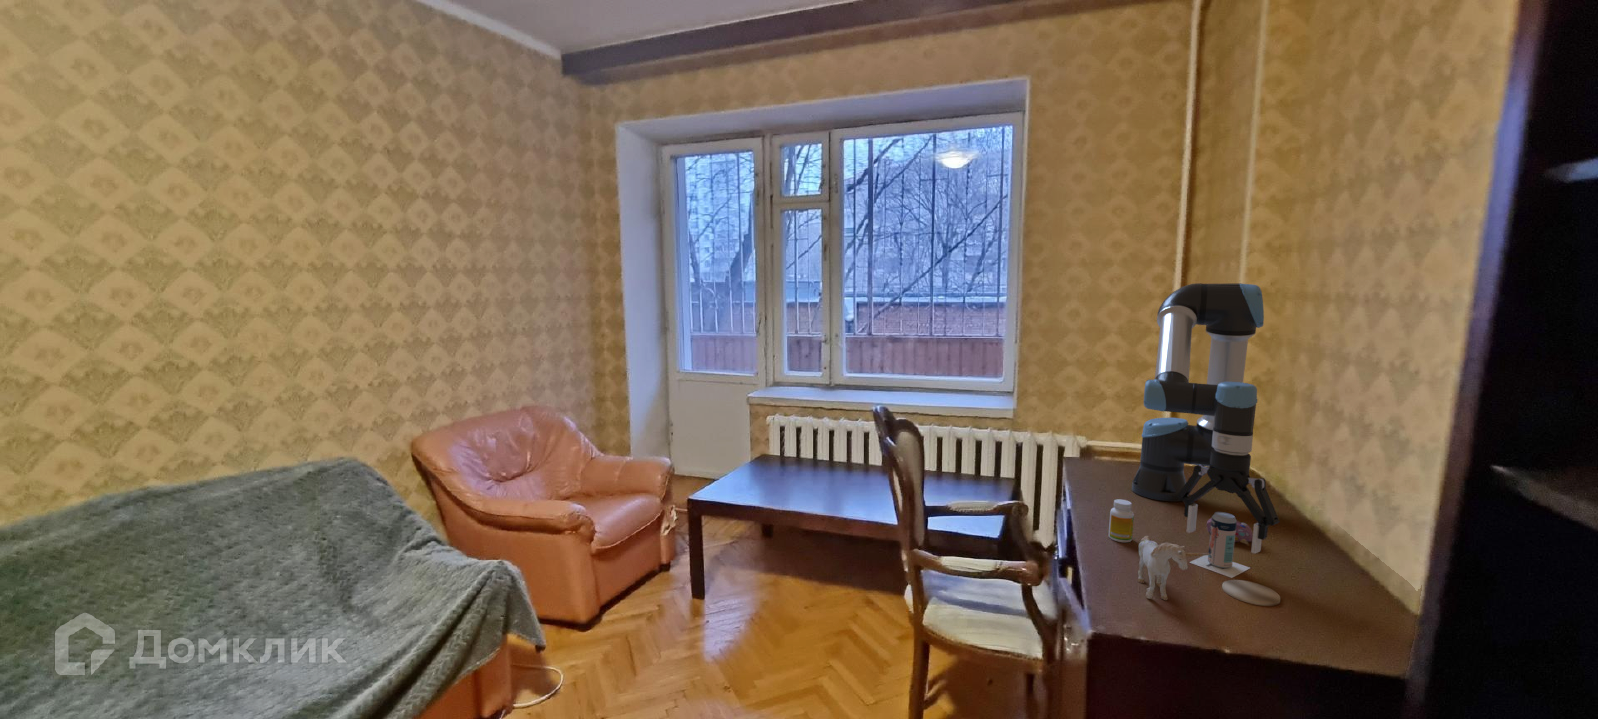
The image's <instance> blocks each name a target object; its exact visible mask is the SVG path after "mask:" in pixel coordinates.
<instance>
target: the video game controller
mask: <svg viewBox="0 0 1598 719" xmlns="http://www.w3.org/2000/svg"><path fill="white" fill-rule="evenodd" d="M1211 520H1212V517H1211V518H1209V519H1208V520H1207V522H1206V530H1207V531H1208V533H1210V531H1211ZM1252 530H1253V529H1251V527H1250V526H1249V525H1248V524H1247V523H1246V522H1240V521H1238V520H1237V524H1236V534H1235V543H1238V542H1241V541H1242V540H1245V541H1246V542H1249V543H1250V542H1251V543H1252V539H1253V531H1252Z"/></svg>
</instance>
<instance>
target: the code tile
mask: <svg viewBox="0 0 1598 719" xmlns="http://www.w3.org/2000/svg"><path fill="white" fill-rule="evenodd" d="M1189 564H1192V565H1194V566H1198V567H1201V568H1203V569H1206V570H1209V571H1212V572H1215V573H1217V574H1218V575H1219V574H1220V575H1223V576H1225V577H1228V578H1230V579H1234V578H1235V577H1237V576H1238V575H1240V574H1242V573H1244V572H1246V571H1248V570H1251V567H1249V566H1246V565H1243V564H1241V563H1238V562H1234V561H1233V563H1232V567H1229V568H1219V567H1215V566H1213V565H1212V564H1210V563H1209V562H1208V555H1203V556H1199V557H1198V558H1195V559H1194V560H1193V559H1192V560H1191V561H1189Z"/></svg>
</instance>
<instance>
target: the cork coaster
mask: <svg viewBox="0 0 1598 719" xmlns="http://www.w3.org/2000/svg"><path fill="white" fill-rule="evenodd" d="M1222 582H1223V583H1222V586H1221V588H1222V591H1223V592H1224V593H1225V594H1227V595H1228V596H1230V597H1231V598H1234V599H1235V600H1238V601H1241V602H1244V603H1247V604H1251V605H1255V606H1261V607H1273V606H1277V605H1279V604H1280V603H1281V596H1280V595H1279V594H1278V593H1277V591H1275V590H1273V589H1271V588H1270V587H1267V586H1265V585H1262V584H1260V583H1256V582H1253V581H1250V580H1249V581H1248V580H1242V579H1228V580H1225V581H1222Z"/></svg>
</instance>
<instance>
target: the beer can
mask: <svg viewBox="0 0 1598 719" xmlns="http://www.w3.org/2000/svg"><path fill="white" fill-rule="evenodd" d="M1211 518H1212V520H1211V531H1210V532H1209V542H1208V552H1207V553H1209V554H1210V555H1208V562H1209V563H1210V564H1212V565H1213V566H1215V567H1219V568H1229V567H1232V563H1233V562H1234V561H1233V560H1234V551H1235V545H1236V544H1235V543H1236V542H1235V534H1236V524H1237V521H1238V520H1237V519H1236V517H1235V515H1233V514H1231V513H1228V512H1223V511H1215V512H1214V514H1213V515H1211Z"/></svg>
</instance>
